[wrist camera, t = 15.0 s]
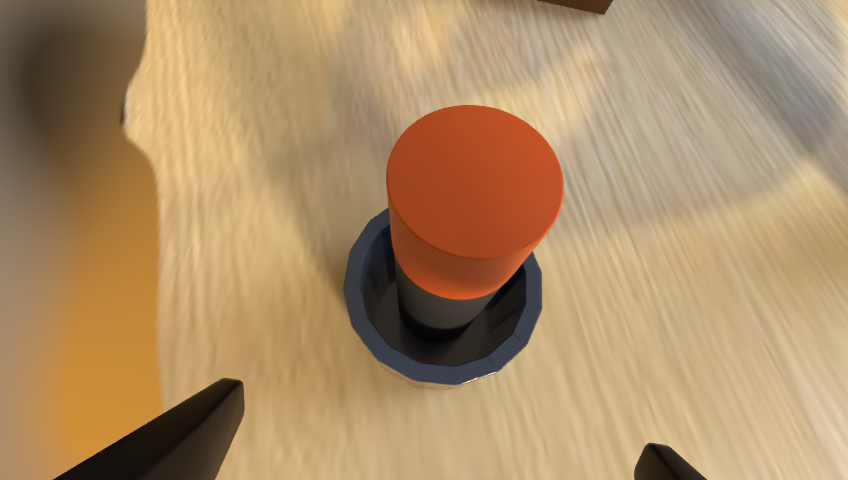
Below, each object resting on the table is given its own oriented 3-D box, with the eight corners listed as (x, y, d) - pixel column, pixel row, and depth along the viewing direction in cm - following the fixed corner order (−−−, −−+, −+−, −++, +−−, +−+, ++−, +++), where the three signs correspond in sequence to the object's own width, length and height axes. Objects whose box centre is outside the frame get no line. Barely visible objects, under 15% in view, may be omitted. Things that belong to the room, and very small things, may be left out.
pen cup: (472, 421, 19) (493, 426, 15) (327, 338, 20) (304, 319, 16) (535, 277, 22) (569, 243, 18) (405, 212, 23) (405, 164, 19)
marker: (485, 334, 20) (591, 240, 9) (406, 351, 20) (405, 276, 8) (465, 258, 22) (532, 93, 10) (390, 273, 21) (372, 117, 10)
